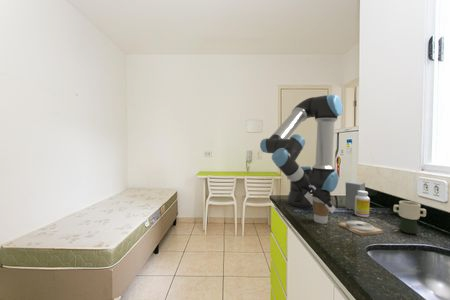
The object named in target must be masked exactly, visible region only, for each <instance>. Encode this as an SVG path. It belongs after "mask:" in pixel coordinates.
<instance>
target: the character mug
mask: <svg viewBox="0 0 450 300" xmlns="http://www.w3.org/2000/svg"><path fill="white" fill-rule="evenodd" d="M398 203H399V204H394V205H393V212H394V213H398V215H399V216H400V217H401V218H400V223H399V226H398V229H399V230H400V231H402V232H404V233H407V234H411V235H412V234H413V235H414V234H418V231H419V230H418V222H417V220H419V219H420V217H423V218H424V217H426V216H427V209H425V208H421V206H422V205H421V204H420V203H419V202H415V201H410V200H399V201H398ZM397 208H398V210H397ZM421 212H422V213H421Z"/></svg>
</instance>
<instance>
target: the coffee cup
mask: <svg viewBox="0 0 450 300" xmlns="http://www.w3.org/2000/svg"><path fill="white" fill-rule="evenodd" d="M320 190H321V191H322V192H323V193H324V194H326V195H327V196H328V197H329V198H330V199H332V197H331V196H332V195H331V192H329V191H327V190H323V189H320ZM311 196H312V197H313V205H312V210H313V211H312V212H313V222H315V223H317V224H321V225H322V224H327V223H328V221H329V219H328V217H329V212H330V211H329V209H328V208H327V207H326V206H325V205H324V204H323V203H324V202H322V201H321V200H320V199H318V198H317V197H316V196H314V195H313V194H311Z"/></svg>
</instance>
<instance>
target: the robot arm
mask: <svg viewBox="0 0 450 300" xmlns="http://www.w3.org/2000/svg"><path fill="white" fill-rule="evenodd" d="M342 112H343V103H342V101H341V98H340V97H339V96H338V95H337V94H327V95H321V96H315V97H314V96H313V97H309V98H306V99H304V100H302V101H301V102H300V103H298V104H297V105H296V106H295V107H294V108H293V109H292V110H291V113H290V114H289V115H288V117H287V118H286V119H285V120H284V121H283V122H282V123H281V124H280V125H279V127H278V128H277V129H276V130H275V131H274V132H273V134H272V135H271V136H270V137H269V138H263V139H262V140H261V141H260V144H259V148H260V150H261V151H262V152H263V153H266V154H271V160H272V162H273V163H274V164H275V166H276V167H277V168H278V169H279V170H280V171H281V172H282V173H283V174H284V175H285V176H286V179H287V180H289V181H290V182H289V183H290V184H289V192H288V195H287V198H286V203H287V204H288V205H290V206H293V207H299V208H309V207H308V206H311V205H312V206H313V196H312V194H313V195H314V196H316V197H317V198H318V199H320V200H321V201H322V202H324V203H323V204H324V205H325V206H326V207H327V208H328V209H329V212H330V213H331V214H333V213H334V212H335V210H336V209H337V208H336V207H335V206H334V204H333V203H332V202H331V201H332V198H329V197H328V196H327V195H326V194H324V193H323V192H322V191H321V190H320V189H323V190H327V191H329V192H330V193H332V192H334V191H335V189H336V188H337V186H338V185H339V184H338V183H339V180H340V179H339V173H338V172H336V171H335V170H336V169H335V167H334V166H333V150H334V136H335V135H334V130H335V122H336V121H337V120H338V117H339V116H341V115H342ZM309 118H314V120H315V121H316V123H317V125H316V142H315V143H316V145H315V164H314V165H313V166H312V167H311V166H307V165H306V166H300V165H299V163H297V161H296V160H297V159H298V157H299V156H300V154H301V152H302V151H303V149H304V147H305V145H306V140H305V138H304V137H303V136H302V135H300V134H294V132H295V130H296V129H297V128H298V127H299V126H300V124H301V123H302V122H305V121H306V120H307V119H309ZM312 206H311V207H312Z"/></svg>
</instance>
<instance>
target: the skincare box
mask: <svg viewBox="0 0 450 300" xmlns="http://www.w3.org/2000/svg"><path fill="white" fill-rule="evenodd" d="M359 190H361V191H366V183H365V182H359V181H351V180H349V181H346V182H345V208H346V207H347V208H350V209H349V210H351V209H353V210H352V211H355V196H356V195H358V193H357V192H358V191H359ZM347 208H346V209H347Z"/></svg>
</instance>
